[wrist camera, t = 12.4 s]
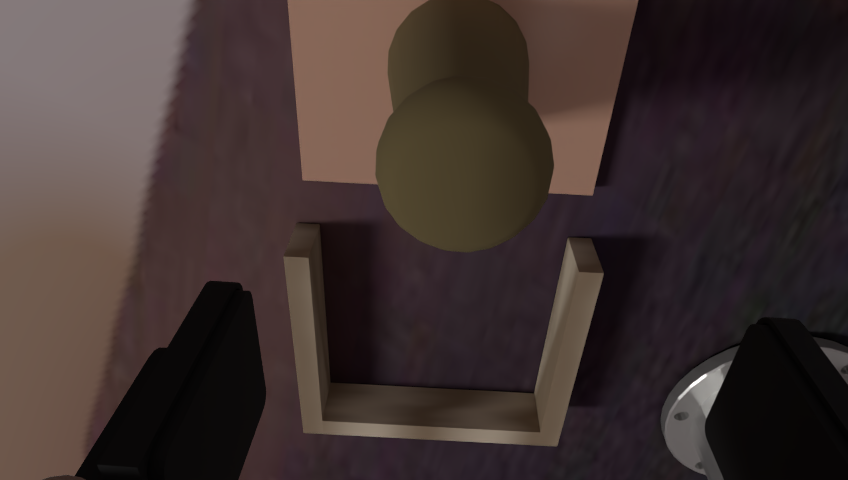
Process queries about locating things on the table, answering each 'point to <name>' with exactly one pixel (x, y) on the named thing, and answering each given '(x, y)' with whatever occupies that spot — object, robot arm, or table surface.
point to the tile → (371, 99)
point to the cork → (462, 128)
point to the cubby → (436, 407)
